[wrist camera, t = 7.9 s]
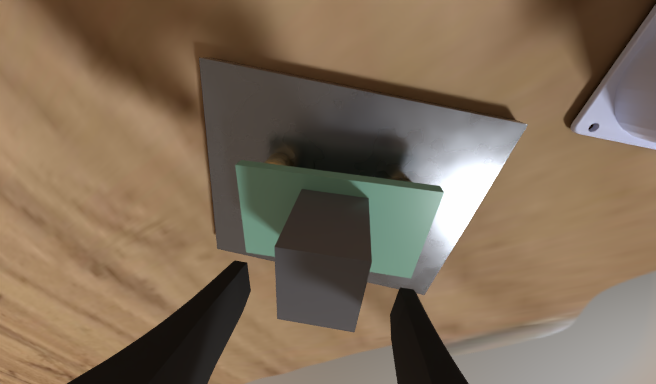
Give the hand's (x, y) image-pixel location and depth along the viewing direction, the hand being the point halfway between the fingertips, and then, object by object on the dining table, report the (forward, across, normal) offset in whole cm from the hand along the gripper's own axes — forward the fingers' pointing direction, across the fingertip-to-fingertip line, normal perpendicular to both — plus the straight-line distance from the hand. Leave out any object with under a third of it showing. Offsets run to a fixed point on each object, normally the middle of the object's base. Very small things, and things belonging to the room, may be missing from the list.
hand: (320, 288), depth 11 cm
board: (+5, 0, 0) cm, 5 cm away
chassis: (+9, 0, 0) cm, 9 cm away
